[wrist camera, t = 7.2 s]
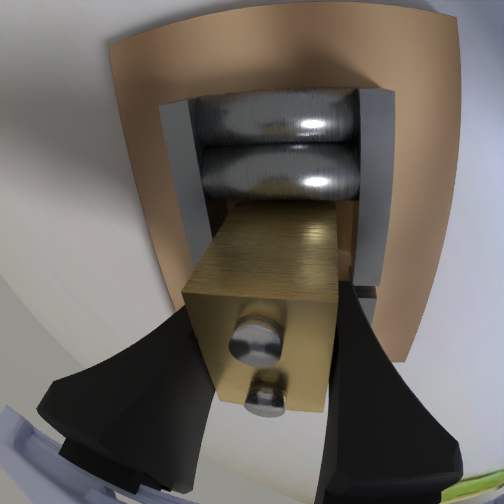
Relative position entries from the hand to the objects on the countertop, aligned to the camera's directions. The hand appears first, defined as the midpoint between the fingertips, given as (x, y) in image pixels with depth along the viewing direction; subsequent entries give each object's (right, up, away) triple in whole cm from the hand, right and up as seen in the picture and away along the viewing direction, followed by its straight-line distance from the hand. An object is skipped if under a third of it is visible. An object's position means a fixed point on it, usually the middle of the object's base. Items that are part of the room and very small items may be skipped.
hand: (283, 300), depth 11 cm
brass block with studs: (0, +1, +1) cm, 2 cm away
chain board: (+1, +3, +2) cm, 4 cm away
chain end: (0, +4, 0) cm, 4 cm away
